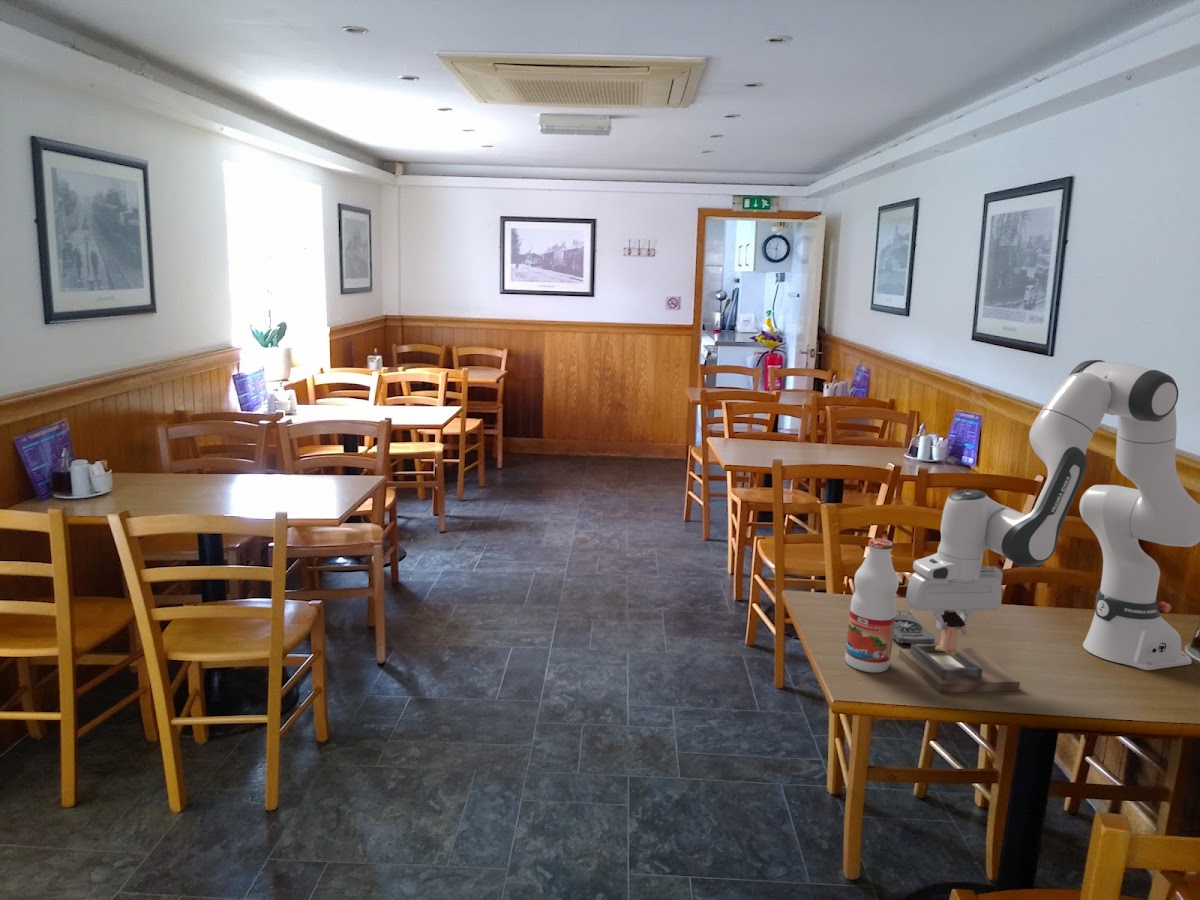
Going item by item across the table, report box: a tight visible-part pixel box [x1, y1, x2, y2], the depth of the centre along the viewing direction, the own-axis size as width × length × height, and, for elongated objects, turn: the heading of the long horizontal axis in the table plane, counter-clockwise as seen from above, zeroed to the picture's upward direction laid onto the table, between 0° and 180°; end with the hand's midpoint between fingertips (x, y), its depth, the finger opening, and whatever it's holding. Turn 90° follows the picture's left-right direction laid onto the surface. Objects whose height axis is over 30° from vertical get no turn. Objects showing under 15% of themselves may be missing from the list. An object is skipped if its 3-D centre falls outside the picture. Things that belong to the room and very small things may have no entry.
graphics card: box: [893, 609, 936, 644], centre depth 207 cm, size 17×4×12 cm
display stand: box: [898, 643, 1021, 694], centre depth 186 cm, size 18×17×4 cm
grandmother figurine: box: [935, 610, 968, 656], centre depth 184 cm, size 8×4×13 cm, turn 39°
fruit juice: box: [844, 537, 899, 674], centre depth 186 cm, size 9×9×28 cm
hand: (950, 628), depth 184 cm, fingers closed on grandmother figurine, 3 cm apart
